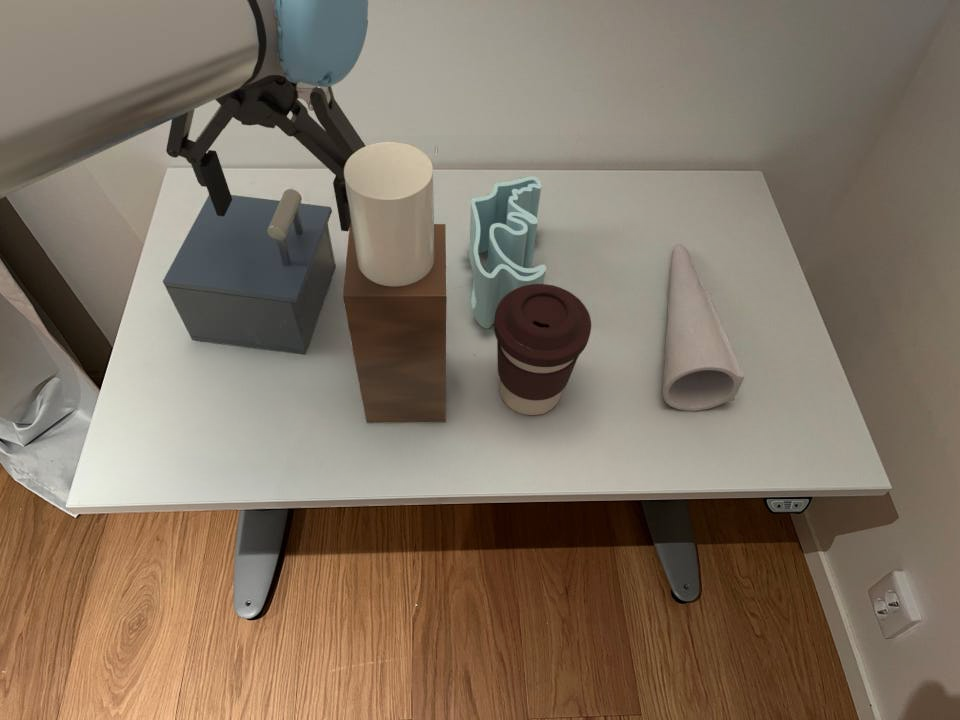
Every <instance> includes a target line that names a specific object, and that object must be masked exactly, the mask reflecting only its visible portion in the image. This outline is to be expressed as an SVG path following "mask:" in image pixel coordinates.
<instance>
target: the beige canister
mask: <svg viewBox="0 0 960 720" xmlns="http://www.w3.org/2000/svg"><path fill="white" fill-rule="evenodd" d="M433 166H434V165H433V164H432V161H431V159H430V158H429V157H428V155H427V154H426V153H425V152H424V151H422V150H421V149H420V148H417V147H416V146H414V145H410V144H408V143H403V142H398V141H382V142H376V143H371V144H368V145H365V147H363V148H361V149H359V150H358V151H356V152H355V153H354V154H352V155H351V156H350V158H349V159H348V160H347V162H346V164H345V167H344V178H345V185H346V191H347V198H348V204H349V211H350V218H351V224H352V231H353V237H354V244H355V250H356V257H357V263H358V267H359V269H360V271H361V272H362V273H363V274H364V275H365V277H367V278H368V279H369V280H371V281H373V282H375V283H377V284H380V285H384V286H391V287H398V286H405V285H409V284H413V283H415V282H417V281H419V280H421V279H422V278H423V277H425V276H426V275H427V274H428V273H429V271H430V270H431V268H432V267H433V264H434V260H435V251H434V224H435V207H434V205H435V204H434V203H435V201H434V167H433Z"/></svg>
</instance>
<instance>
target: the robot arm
mask: <svg viewBox="0 0 960 720" xmlns="http://www.w3.org/2000/svg"><path fill="white" fill-rule="evenodd" d="M368 13H369V0H0V200H1V199H3V198H5V197H8V196H10V195H12V194H14V193H16V192H18V191H20V190H23V189H25V188H27V187H29V186H32V185H33V184H36V183H38V182H40V181H43V180H45V179H46V178H49V177H51V176H53V175H55V174H58V173H59V172H61V171H64V170H66V169H68V168H71V167H73V166H74V165H77V164H79V163H81V162H83V161H85V160H87V159H90V158H92V157H94V156H96V155H98V154H100V153H102V152H104V151H107V150H109V149H110V148H114V147H115V146H118V145H120V144H122V143H124V142H126V141H128V140H130V139H133V138H135V137H137V136H139V135H141V134H143V133H145V132H148V131H151V130H153V129H155V128H156V127H159V126H161V125H164V124H165V123H167V122H169V121H171V123H170V128H169V134H168V138H167V143H166V144H167V145H166V149H165V151H166V154H167V155H168V156H170V157H171V158H175V159H176V158H178V157H181V158H184V159H186V161H187V162H188V163H189V164H190V165H191V167H192V170H193V173H194V175H195V178H196V180H197V183H198V184H199V185H200V187H206V190H207V192H208V196H209V195H210V198H211V200H212V203H213V206H214V208H215V211H216V214H217V216H225V214H226V212H227V210H228V208H229V206H230V204H231V202H232V197H231V195H232V194H231V192H230V191H231V190H230V188H229V186H228V181H227V180H226V176H225V174H224V170H223V168H222V163H221V161H220V158H219V155H218V152H217V150H212V149H211V147H212V145H214V143H215V142H216V140H217V139H218V137H219V136H220V135H221V133H222V132H223V131H224V130H225V129H226V127H227V126H228V125H229V124H230V122H231V120H232V119H233V118H234V119H235V120H236V121H239V122H240V123H241V126H256V125H258V126H261V127H263V128H268V129H275V128H276V127H277V128H278V129H279V130H281V131H282V132H283V133H284V134H285V135H286V136H287V137H293V138H295V139H296V141H298V142H299V143H300V144H301V145H302V146H303V147H304V148H305V149H306V150H308V151H309V152H310V153H311V155H313V156H314V157H315V158H316V159H318V160H319V162H321V164H323V165H324V166H325V167H326V168H327V169H328V170H329V171H330V172H331V173H332V174H333V175H335V177H334V179H333V182H332V185H333V191H334V197H335V203H336V207H337V208H336V209H337V214H338V220H339V225H340V226H339V227H340V231H341V232H349V229H350V224H351V218H350V211H349V204H348V198H347V191H346V185H345V178H344V167H345V164H346V162H347V160H348V159H349V158H350V156H351V155H352V154H354V153H355V152H356V151H358V150H359V149H361V148H363V147H365V146H366V144H365V143H364V141H363V140H362V138H361V137H360V135H359V134H358V132H357V130H356V128H354V126H353V125H352V123H351V121H350V120H349V118H348V117H347V116H346V114H345V113H344V111H343V110H342V108H341V106H340V105H339V103H338V102H337V101H336V99H335V95H334V91H333V88H332V86H336V85H337V84H339V83H340V82H342V81H343V80H344V79H346V77H347V76H348V75H349V74H350V72H351V71H352V70H353V68H354V67H355V65H356V64H357V62H358V60H359V59H360V56H361V54H362V51H363V48H364V45H365V41H366V37H367V32H368V28H369V27H368V26H369V20H368V18H369V17H368V16H369V14H368ZM299 99H300V100H303V101H304V102H305V103H306V105H307V107H306V106H305V105H304V104H303V103H302V101H300V100H299ZM213 101H216V102H217V103H218V104H219V105H220V106H219V107H218V108H217V110H216V111H215V112H214V114H213V116H212V117H211V118H210V120H209V121H208V123H207V124H206V125H205V127H204V128H203V130H202V131H201V133H200V134H199V135H198V136H197V138H196V139H195V141H194V140H191V139H189V136H190V131H191V127H192V123H193V118H194V113H195V110H196V109H198V108H200V107H203V106H205V105H206V104H208V103H210V102H213ZM309 111H312V112H313V111H314V115H315V117H316V119H317V121H318V122H319V123H318V122H317V121H316V120H315V119H314V118H313V117H312V116H311V115H310V114H309ZM290 112H291V114H292V116H291V118H289V117H288V116H289V114H290Z"/></svg>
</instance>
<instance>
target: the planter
mask: <svg viewBox="0 0 960 720" xmlns="http://www.w3.org/2000/svg"><path fill="white" fill-rule="evenodd" d="M671 254H672V255H671V262H670V272H669V290H668V307H667V309H668V310H667V321H666V335H665V336H666V337H665V351H664V353H665V355H664V366H663V367H664V368H663V381H662V397H663V400H664V402H665V403H666V404H667V405H668V406H670V407H671V408H674V409H677V410H680V411H687V412H695V411H696V412H697V411H705V410H708V409H713V408H715V407H719V406H720V405H723V404H724V403H729V402H731V403H732V402H734V401H735V398H736V396H737V394H738V392H739V390H740V388H741V386H742V383H743V381H744V378H745V374H744V372H743V370H742V368H741V364H740V363H739V361H738V359H737V356H736V354H735V352H734V349H733V346H732V344H731V342H730V340H729V338H728V336H727V333H726V331H725V329H724V326H723V324H722V321H721V320H720V317H719V315H718V313H717V310H716V308H715V306H714V304H713V301H712V299H711V297H710V295H709V292H708V290H707V289H704V288H703V286H702V284H701V281H700V278H699V276H698V274H697V271H696V269H695V266H694V264H693V262H692V258H691V256H690V253H689V251H688V249H687V248H686V247H685V246H684V244H683V243H676V244H675V245H674V246H673V247H672V253H671Z"/></svg>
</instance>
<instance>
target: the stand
mask: <svg viewBox="0 0 960 720" xmlns="http://www.w3.org/2000/svg"><path fill="white" fill-rule="evenodd" d="M446 229H447V228H446V224H445V223H434V251H435V260H434V264H433V267H432V268H431V270H430V271H429V273H428V274H427V275H426V276H425V277H423V278H422V279H421V280H419V281H417V282H415V283H413V284H409V285H405V286H398V287H391V286H384V285H380V284H377V283H375V282H373V281H371V280H369V279H368V278H367V277H365V275H364V274H363V273H362V272H361V271H360V269H359V267H358V263H357V257H356V250H355V244H354V237H353V231H352V224H350V228H349V231H348V240H347V250H346V259H345V267H344V268H345V270H344V276H343V289H342V301H343V306H344V310H345V311H344V312H345V316H346V322H347V326H348V333H349V338H350V343H351V348H352V354H353V359H354V364H355V369H356V374H357V380H358V386H359V391H360V395H361V402H362V406H363V412H364V418H365V423H366V424H404V423H415V424H416V423H447V242H446V241H447V239H446V237H447V236H446V235H447V234H446V232H447V231H446Z"/></svg>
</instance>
